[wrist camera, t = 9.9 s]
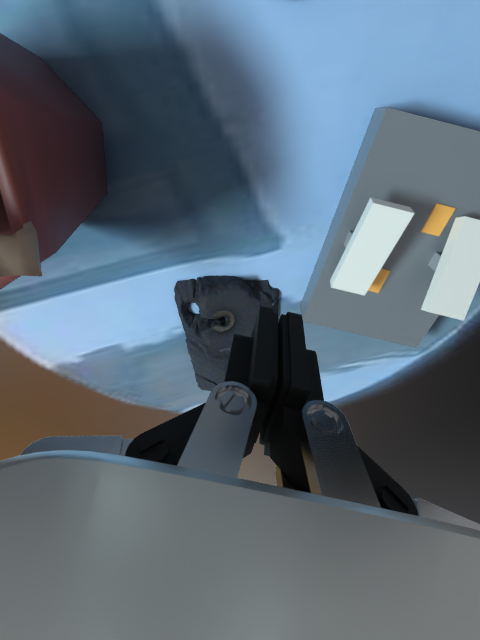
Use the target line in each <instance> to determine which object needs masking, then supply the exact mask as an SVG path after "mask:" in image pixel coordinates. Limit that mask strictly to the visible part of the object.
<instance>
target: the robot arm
mask: <svg viewBox="0 0 480 640" xmlns="http://www.w3.org/2000/svg"><path fill="white" fill-rule="evenodd" d="M259 433H260V444H262V445H265V447H264V455H267V456H270V457H271V459H272V460H273V461H274V462H275V464H276V467H275V475H276V483H277V486H273V485H268V484H263V483H258V482H253V481H249V480H244V479H239V478H237V477H238V473H239V469H240V466H241V462H242V459H243V458H244V457H246V456H247V455H249V454H250V453H251V451H252V449H253V446H254V443H256V441H257V438H258V435H259ZM0 640H480V524H477V523H475V522H473V521H471V520H468V519H466V518H463V517H461V516H459V515H457V514H454V513H452V512H450V511H447V510H445V509H443V508H440V507H438V506H436V505H433V504H431V503H429V502H427V501H424V500H422V499H420V498H416V499H415V500H413V499H411V497H410V496H409V494H408V493H407V492H406V491H405V490H404V489H403V488H402V487H401V486H400V485H399V484H398V483H397V482H396V481H394V480H393V479H392V478H391V477H390V476H389V475H388V474H387V473H386V472H385V471H384V470H383V469H382V468H380V467H379V466H378V465H377V464H376V463H375V462H374V461H373V460H372V459H371V458H370V457H369V456H368V455H367V454H366V453H364V452H363V451H362V450H361V449H360V448H359V447H358V446H357V444H356V442H355V439H354V436H353V434H352V431H351V428H350V426H349V424H348V421H347V419H346V417H345V415H344V414H343V413H342V412H341V411H340V410H339V409H338V408H337V407H336V406H334V405H333V404H331V403H328V402H326V401H324V398H323V392H322V386H321V379H320V373H319V367H318V361H317V355H316V352H315V351H312V350H307V349H306V345H305V336H304V328H303V319H302V315H300V314H295V313H291V312H287V314H286V315H283V314H282V315H281V317H280V320H279V323H278V313H274V312H273V308H268V307H264V306H259V309H258V312H257V316H256V320H255V324H254V327H253V331H252V335H251V337H248V336H243V335H238V334H234V336H233V340H232V345H231V349H230V354H229V358H228V363H227V368H226V372H225V377H224V382H223V383H219V384H218V385H216V386H215V387H214V388H213V390H212V391H211V393H210V395H209V397H208V399H207V401H206V403H204V404H202V405H200V406H198V407H196V408H194V409H191V410H189V411H187V412H185V413H183V414H181V415H179V416H177V417H175V418H173V419H171V420H169V421H167V422H165V423H163V424H160V425H158V426H157V427H154V428H152V429H150V430H148V431H146V432H144V433H142V434H140V435H139V436H137V437H136V438H134V439H123V436H52V437H46V438H42V439H40V440H38V441H35V442H33V443H32V444H30V445H29V446H28V447H27V448H26V449H24V451H23V452H22V454H21V455H20V456H16V457H12V458H9V459H5V460H2V461H0Z"/></svg>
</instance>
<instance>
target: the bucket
mask: <svg viewBox="0 0 480 640" xmlns="http://www.w3.org/2000/svg"><path fill="white" fill-rule="evenodd" d="M107 193H108V191H107V178H106V166H105V154H104V142H103V129H102V122H101V121H100V120H99V119H98V118H97V117H96V116H95V115H94V114H93V113H92V111H91V110H90V109H89V108H88V107H87V106H86V105H85V104H84V103H83V102H82V101H81V100H80V99H79V98H78V97H77V96H76V94H75V93H74V92H73V91H72V90H71V89H70V88H69V87H68V86H67V85H66V84H65V83H64V82H63V81H62V80H61V79H60V77H59V76H58V75H57V74H56V73H55V72H54V71H53V70H52V69H51V68H50V67H49V66H48V65H47V64H46V63H45V62H44V60H43V59H41V58H40V57H38V56H37V55H35V54H33V53H32V52H30V51H28V50H27V49H25V48H24V47H22V46H20V45H19V44H17V43H16V42H14V41H12V40H11V39H9V38H7V37H6V36H4V35H3V34H1V33H0V289H2V288H3V287H5V286H6V285H8V284H9V283H11V282H12V281H14V280H15V279H17V278H18V277H20V276H21V275H25V276H42V272H41V264H40V263H41V262H42V261H44V260H45V259H47V258H48V257H50V256H51V255H53V254H54V253H56V252H57V251H58V250H59V249H60V247H61V246H62V245H63V244H64V243H65V242H66V240H67V239H68V238H69V237H70V236H71V235H72V233H73V232H74V231H75V230H76V229H77V228H78V227H79V225H80V224H81V223H82V222H83V221H84V220H85V218H86V217H87V216H88V215H89V214H90V213H91V211H92V210H93V209H94V208H95V207H96V206H97V204H98V203H99V202H100V201H101V200H102V199H103V198H104V196H105V195H106V194H107Z"/></svg>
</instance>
